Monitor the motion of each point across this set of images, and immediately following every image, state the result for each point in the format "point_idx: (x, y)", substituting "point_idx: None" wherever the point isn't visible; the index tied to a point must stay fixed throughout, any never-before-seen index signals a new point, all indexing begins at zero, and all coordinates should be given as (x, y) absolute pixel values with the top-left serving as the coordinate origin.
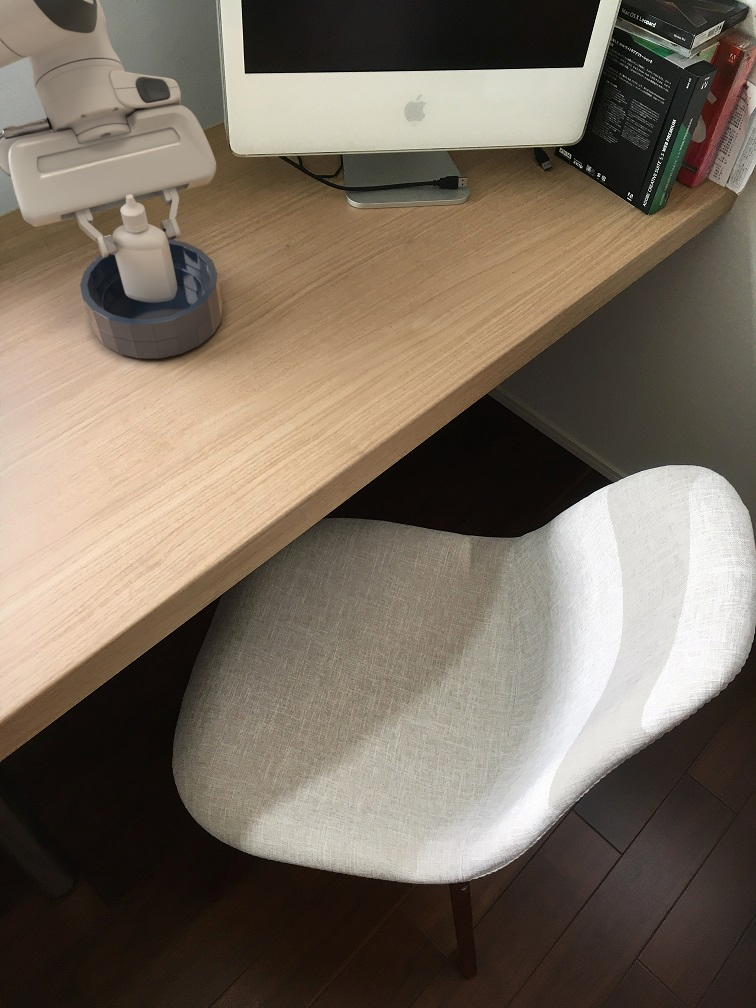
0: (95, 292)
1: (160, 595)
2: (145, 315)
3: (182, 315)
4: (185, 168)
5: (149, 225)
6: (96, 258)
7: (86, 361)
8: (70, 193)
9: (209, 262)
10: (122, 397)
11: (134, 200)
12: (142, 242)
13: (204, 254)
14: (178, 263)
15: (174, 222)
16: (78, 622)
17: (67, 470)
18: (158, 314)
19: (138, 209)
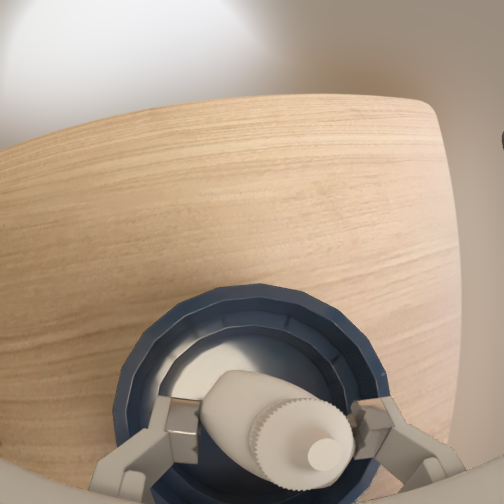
0: (345, 469)
1: (354, 96)
2: None
3: (241, 286)
4: (7, 500)
5: (241, 438)
6: None
7: None
8: (500, 497)
9: (120, 407)
10: (351, 279)
11: (303, 440)
12: (287, 385)
13: (118, 437)
14: (171, 484)
15: (157, 418)
16: (403, 111)
17: (415, 213)
18: None
19: (290, 421)
